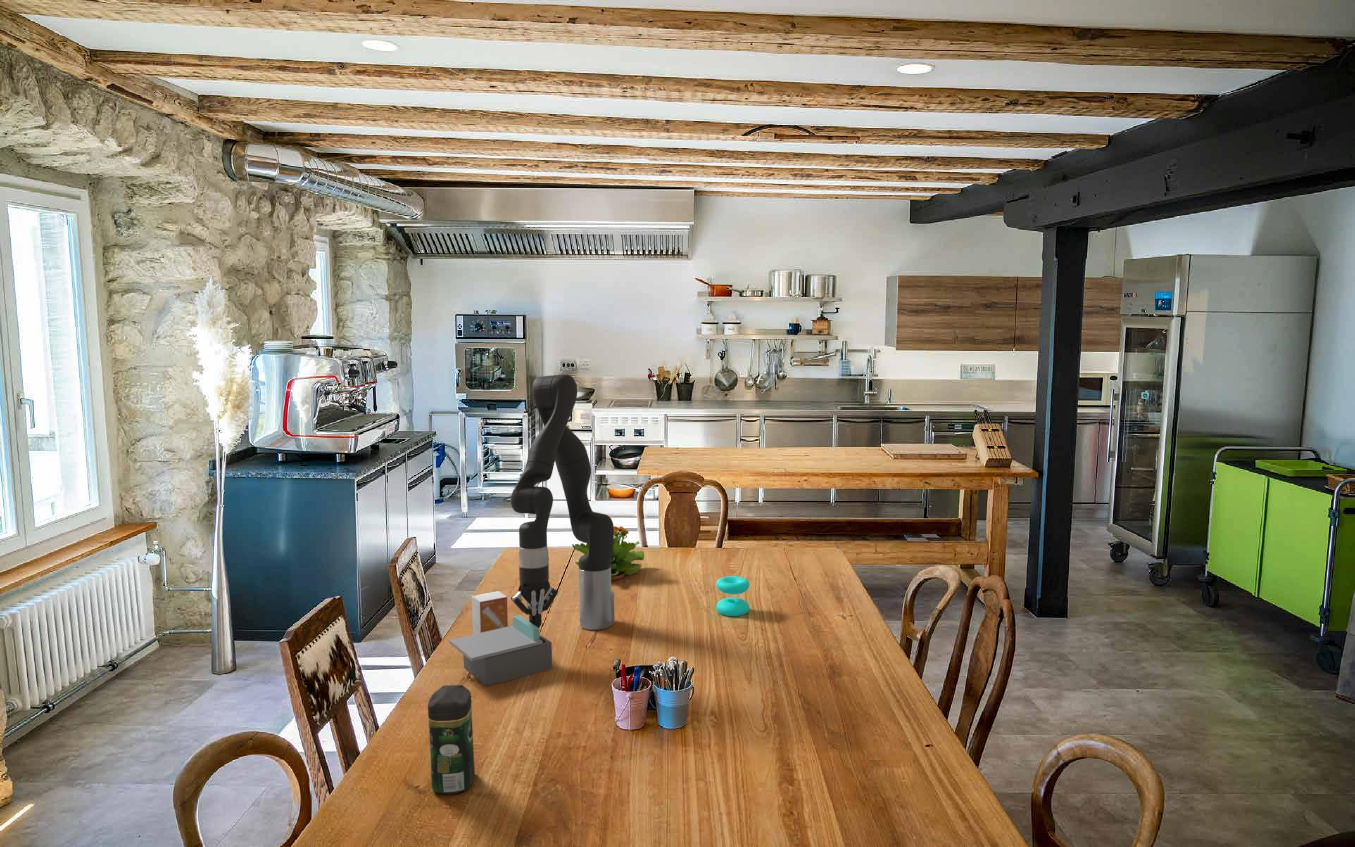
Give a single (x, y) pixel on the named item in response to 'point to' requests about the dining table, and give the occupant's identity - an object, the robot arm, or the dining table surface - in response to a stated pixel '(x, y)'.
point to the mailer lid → (498, 640)
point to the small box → (489, 612)
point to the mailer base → (511, 664)
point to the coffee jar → (451, 739)
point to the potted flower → (619, 555)
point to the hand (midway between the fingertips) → (535, 627)
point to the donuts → (732, 604)
